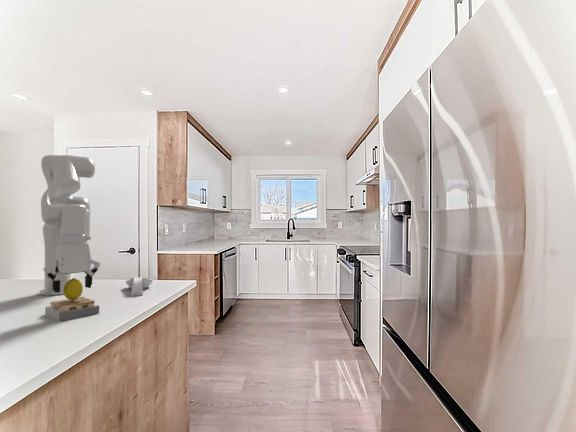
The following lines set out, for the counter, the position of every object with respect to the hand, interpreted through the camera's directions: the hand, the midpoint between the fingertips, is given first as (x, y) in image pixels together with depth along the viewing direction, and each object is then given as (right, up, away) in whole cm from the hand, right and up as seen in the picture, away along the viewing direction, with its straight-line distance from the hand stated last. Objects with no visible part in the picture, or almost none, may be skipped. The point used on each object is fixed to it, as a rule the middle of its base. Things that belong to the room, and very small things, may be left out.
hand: (73, 289), depth 116 cm
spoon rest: (+6, -9, +39) cm, 40 cm away
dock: (0, -8, 0) cm, 8 cm away
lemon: (0, -4, 0) cm, 4 cm away
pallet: (0, -6, 0) cm, 6 cm away
